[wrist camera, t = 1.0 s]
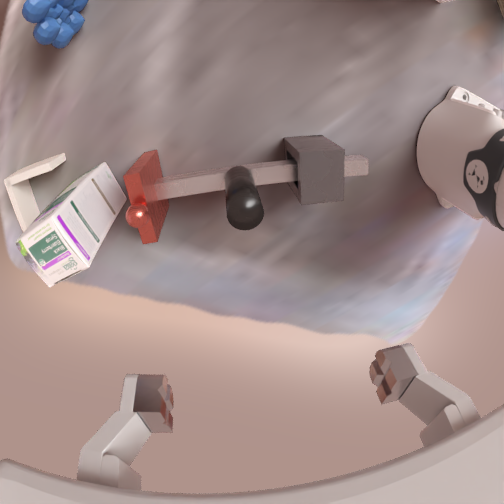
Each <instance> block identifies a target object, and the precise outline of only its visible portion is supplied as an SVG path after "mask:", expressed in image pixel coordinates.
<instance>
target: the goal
mask: <svg viewBox="0 0 504 504" xmlns="http://www.w3.org/2000/svg"><path fill="white" fill-rule="evenodd" d="M64 161H66V157H65V153H62V154H59V155H56V156H53V157H50V158H48V159H45V160H42V161H39V162H37V163H34V164H32V165H29V166H27V167H24V168H22V169H19V170H18V171H16V172H15V173H13V174H12V175H10V176H9V177H7V178H6V179H5V180H4V183H5V186H6V189H7V192H8V195H9V197H10V200H11V203H12V206H13V208H14V211H15V214H16V216H17V219H18V221H19V224H20V226H21V229H22V231H23V233H24V231H25V230H26V229H27V228H28V227H29V226H30V225H31V224H32V222H33V221H34V220H35V219H36V218H37V217H38V216H39V215H40V212H39V209H38V206H37V203H36V201H35V198H34V195H33V192H32V189H31V186H30V183H29V180H28V179H29V178H31V177H34V176H37V175H40V174H43V173H45V172H48V171H51V170H53V169H54V168H56V167H57V166H58V165H60V164H61V163H63V162H64Z"/></svg>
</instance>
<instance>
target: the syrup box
mask: <svg viewBox="0 0 504 504" xmlns="http://www.w3.org/2000/svg"><path fill="white" fill-rule="evenodd" d="M126 200H127V198H126V196H125V194H124V193H123V191H122V189H121V187H120V186H119V184H118V182H117V181H116V179H115V177H114V176H113V174H112V172H111V170H110V169H109V167H108V165H107V164H106V162H104V163H102V164H100V165H98V166H96V167H95V168H93V169H91V170H90V171H88V172H87V173H85V174H83V175H82V176H80V177H79V178H78V179H76V180H75V181H73V182H72V183H71V184H70V185H69V186H68V187H67V188H66V189H65V190H63V191H62V192H61V193H60V194H59V195H58V196H57V197H56V198H55V199H54V200H53V201H52V202H51V203H50V204H49V205H48V206H47V207H46V208H45V210H44V211H43V212H42V213H41V214H40V215H39V216H38V217H37V218H36V219H35V220H34V221H33V222H32V224H31V225H30V226H29V227H28V228H27V229H26V230H25V231H24V233H23V234H22V235H21V236H20V237H19V238H18V240H17V241H16V245H17V247H18V249H19V250H20V252H21V253H22V255H23V256H24V258H25V259H26V261H27V262H28V264H29V265H30V266H31V268H32V269H33V270H34V271H35V272H36V274H37V275H38V276H39V277H40V278H41V279H42V280H43V281H44V282H45V283H46V284H47V286H48V287H49V288H50V287H51V286H53V285H55V284H57V283H59V282H61V281H64V280H66V279H68V278H70V277H72V276H74V275H76V274H78V273H80V272H82V271H84V270H86V269H88V268H89V267H90V265H91V263H92V261H93V259H94V257H95V255H96V253H97V251H98V249H99V248H100V246H101V244H102V242H103V240H104V238H105V237H106V235H107V233H108V231H109V229H110V228H111V226H112V224H113V222H114V221H115V219H116V217H117V215H118V214H119V212H120V210H121V209H122V207H123V205H124V204H125V202H126Z"/></svg>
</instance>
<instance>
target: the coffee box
mask: <svg viewBox="0 0 504 504" xmlns="http://www.w3.org/2000/svg"><path fill="white" fill-rule="evenodd" d="M497 2H498V5H499V8H500V10H501V13H502V16H503V19H504V0H497Z"/></svg>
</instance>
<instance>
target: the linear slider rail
mask: <svg viewBox="0 0 504 504" xmlns="http://www.w3.org/2000/svg"><path fill="white" fill-rule="evenodd" d="M368 165H369V159H367V158H366V157H364V156H363V155H348V156H345V163H344V177H346V176H360V175H368ZM123 177H124V181H125V185H126V188H127V192H128V196H129V199H130V203H131V206H130V207H129V208H128V209H127V211H126V221H127V223H128V224H129V225H130V226H131V227H134V228H138V230H139V233H140V236H141V239H142V243H143V244H147V243H153V242H158V238H159V235H160V232H161V229H162V226H163V223H164V220H165V217H166V214H167V211H168V208H169V202H168V199H169V198H175V197H181V196H187V195H193V194H199V193H206V192H212V191H219V190H225V193H226V208H227V218H228V221H229V223H230V224H231V225H232V226H233V227H235V228H237V229H240V230H250V229H253V228H255V227H256V226H258V225H259V224H260V222H261V221H262V219H263V216H264V209H263V206H262V203H261V200H260V197H259V194H258V191H257V188H256V185H264V184H273V183H281V182H291V181H298V165H297V161H296V160H295V159H292V160H282V161H272V162H263V163H255V164H246V165H239V166H231V167H224V168H217V169H210V170H204V171H197V172H191V173H185V174H180V175H174V176H168V177H163V176H162V171H161V167H160V162H159V157H158V152H157V150H154V151H149V152H144V154H143V155H142V156H141V157H140V158H139V159H138V160H137V161H136V162H135V163H134V165H133V166H132V167H131V168H130V169H129V170H128V171H127V172H126V174H125V175H124V176H123Z"/></svg>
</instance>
